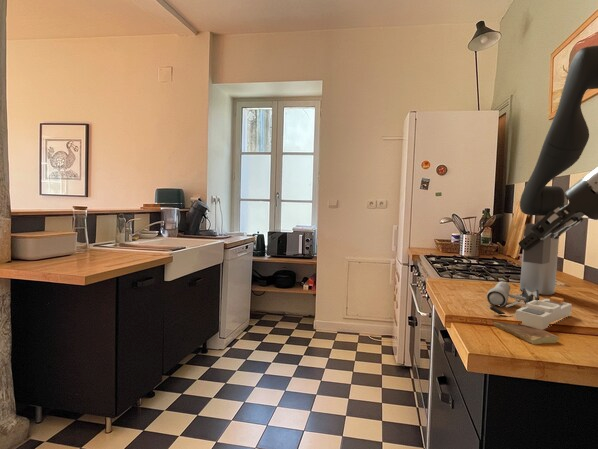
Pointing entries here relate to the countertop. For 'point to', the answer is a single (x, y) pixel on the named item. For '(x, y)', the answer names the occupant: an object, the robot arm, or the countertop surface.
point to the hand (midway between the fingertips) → (526, 246)
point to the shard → (528, 333)
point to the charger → (537, 248)
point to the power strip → (543, 312)
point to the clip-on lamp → (501, 294)
